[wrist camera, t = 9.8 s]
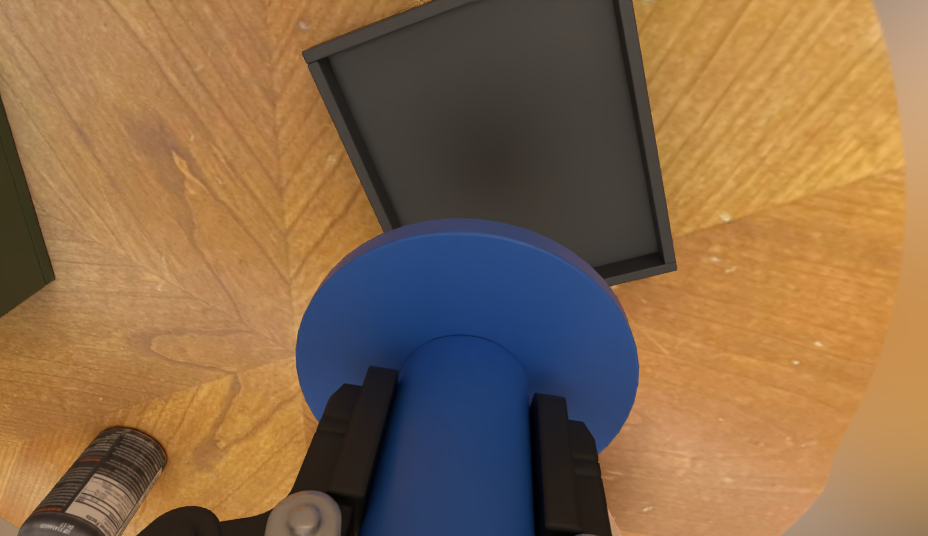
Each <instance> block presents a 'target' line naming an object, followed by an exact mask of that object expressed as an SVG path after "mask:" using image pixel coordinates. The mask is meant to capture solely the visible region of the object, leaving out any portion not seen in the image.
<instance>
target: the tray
mask: <svg viewBox="0 0 928 536" xmlns="http://www.w3.org/2000/svg"><path fill="white" fill-rule="evenodd" d="M302 55H303V57H304V59H305V61H306V63H307V64H308V68H309V70H310V72H311V74H312V77H313V79H314V81H315V83H316V85H317V87H318V90H319V92H320V94H321V96H322V98H323V101H324V103H325V105H326V107H327V109H328V112H329V114H330V116H331V118H332V120H333V122H334V125H335V127H336V129H337V131H338V133H339V136H340V138H341V140H342V142H343V144H344V147H345V149H346V151H347V153H348V155H349V157H350V160H351V162H352V164H353V166H354V168H355V171H356V173H357V175H358V177H359V179H360V181H361V184H362V186H363V188H364V190H365V192H366V195H367V197H368V199H369V201H370V203H371V206H372V208H373V210H374V212H375V214H376V216H377V219H378V221H379V223H380V225H381V227H382V230H383V232H384V233H385V232H388V231H391V230H394V229H397V228H400V227H402V226H405V225H410V224H415V223H419V222H424V221H429V220H439V219H450V218H464V219H482V220H489V221H495V222H502V223H506V224H510V225H514V226H517V227H521V228H524V229H528V230H530V231H533V232H535V233H537V234H540V235H542V236H545V237H547V238H550V239H552V240H553V241H555V242H557V243H559V244H560V245H562V246H564V247H566V248H567V249H569V250H571V251H572V252H574V253H575V254H576V255H577V256H579V257H580V258H581V259H583V260H584V261H585V262H587V263H588V264H589V265H590V266H591V267H592V268H593V269H594V270H595V271H596V272H597V273H598V274H599V275H600V276H601V277H602V278H603V279H604V280H605V281H606V283H607V284H608V285H609V286H613V285H617V284H621V283H626V282H630V281H634V280H638V279H643V278H647V277H651V276H655V275H660V274H664V273H668V272H672V271H676V270H677V265H676V259H675V253H674V247H673V241H672V235H671V229H670V223H669V217H668V211H667V205H666V199H665V193H664V187H663V181H662V176H661V170H660V164H659V158H658V152H657V146H656V140H655V134H654V128H653V122H652V116H651V110H650V104H649V98H648V92H647V86H646V80H645V74H644V68H643V62H642V56H641V50H640V44H639V38H638V32H637V26H636V20H635V14H634V8H633V2H632V0H432V1H430V2H427V3H425V4H422V5H419V6H417V7H414V8H412V9H409V10H406V11H404V12H401V13H399V14H396V15H393V16H391V17H388V18H386V19H383V20H380V21H378V22H375V23H373V24H370V25H367V26H365V27H362V28H359V29H357V30H354V31H352V32H349V33H346V34H344V35H341V36H339V37H336V38H333V39H331V40H328V41H326V42H323V43H320V44H318V45H315V46H313V47H311V48H309V49H307V50H304V51H302Z"/></svg>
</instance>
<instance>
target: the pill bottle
mask: <svg viewBox="0 0 928 536" xmlns="http://www.w3.org/2000/svg"><path fill="white" fill-rule="evenodd" d="M165 466H166V456H165V454H164V452H163V450H162V448H161V447H160V446H159V445H158V444H157V443H156V442H155V441H154V440H153V439H151V438H150V437H148V436H146V435H144V434H142V433H140V432H137V431H134V430H131V429H125V428H113V429H108V430H105V431H103V432H101V433H100V434H99V435H98V436H97V437H96V438H95V439H94V440H93V441H92V442H91V443H90V444H89V446H88V447H87V448H86V449H85V450H84V452H83V453H82V454H81V455H80V456H79V458H78V459H77V460H76V461H75V462H74V464H73V465H72V466H71V467H70V468H69V470H68V471H67V472H66V473H65V475H64V476H63V477H62V478H61V479H60V481H59V482H58V483H57V484H56V485H55V486H54V488H53V489H52V490H51V491H50V492H49V494H48V495H47V496H46V497H45V498H44V500H43V501H42V502H41V503H40V504H39V506H38V507H37V508H36V509H35V510H34V511H33V513H32V514H31V515H30V516H29V517H28V519H27V520H26V521H25V522H24V523H23V525H22V526H21V528H20V530H19V532H18V535H17V536H121V535H122V533H123V531H124V530H125V528H126V527H127V525H128V524H129V522H130V521H131V519H132V518H133V516H134V515H135V513H136V511H137V510H138V508H139V507H140V505H141V504H142V502H143V501H144V499H145V498H146V496H147V495H148V493H149V491H150V490H151V489H152V487H153V485H154V484H155V482H156V481H157V479H158V478H159V476H160V475H161V473H162V472H163V470H164V468H165Z"/></svg>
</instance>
